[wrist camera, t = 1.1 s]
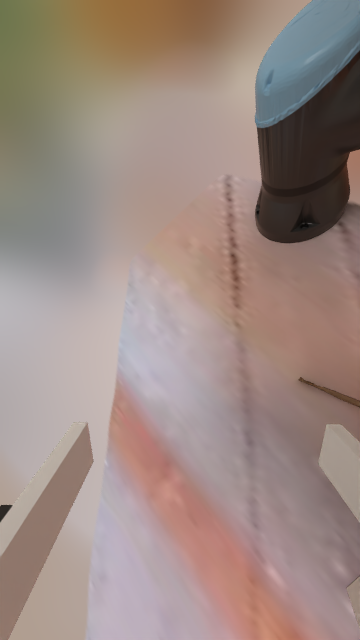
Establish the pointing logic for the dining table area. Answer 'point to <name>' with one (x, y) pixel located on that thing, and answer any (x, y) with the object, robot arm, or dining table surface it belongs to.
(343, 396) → the brown bark piece
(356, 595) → the white rectangular block
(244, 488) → the dining table surface
